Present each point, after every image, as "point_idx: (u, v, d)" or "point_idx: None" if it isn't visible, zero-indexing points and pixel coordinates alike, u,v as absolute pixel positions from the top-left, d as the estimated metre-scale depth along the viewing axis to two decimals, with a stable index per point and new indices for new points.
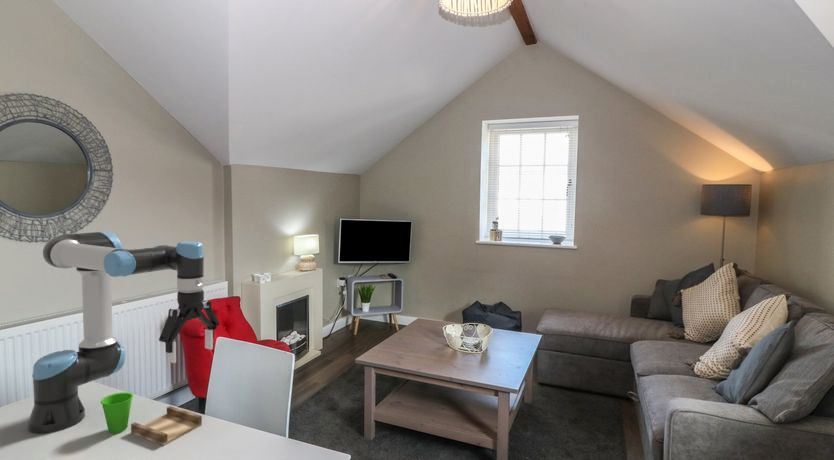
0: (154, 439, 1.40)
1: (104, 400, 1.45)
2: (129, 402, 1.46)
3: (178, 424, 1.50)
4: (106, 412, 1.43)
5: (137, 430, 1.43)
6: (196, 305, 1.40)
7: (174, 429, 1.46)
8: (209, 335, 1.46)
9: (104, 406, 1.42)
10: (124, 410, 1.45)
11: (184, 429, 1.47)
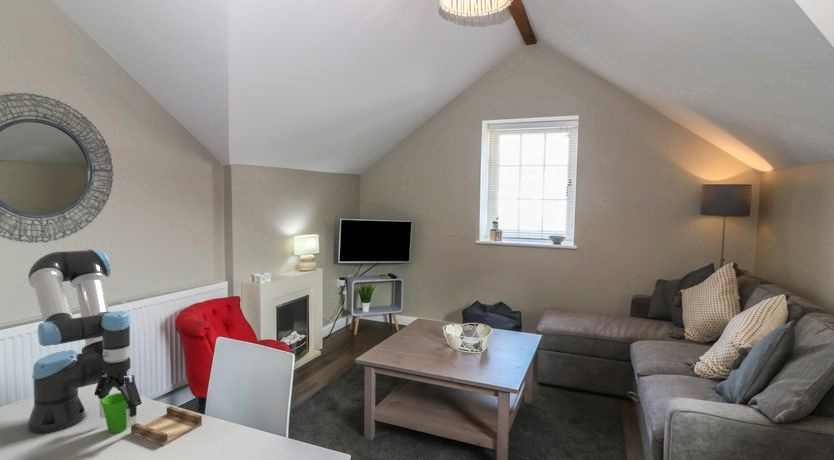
0: (154, 439, 1.40)
1: (104, 400, 1.45)
2: None
3: (178, 424, 1.50)
4: (106, 412, 1.43)
5: (137, 430, 1.43)
6: (116, 375, 1.44)
7: (174, 429, 1.46)
8: None
9: (104, 406, 1.42)
10: (124, 410, 1.45)
11: (184, 429, 1.47)
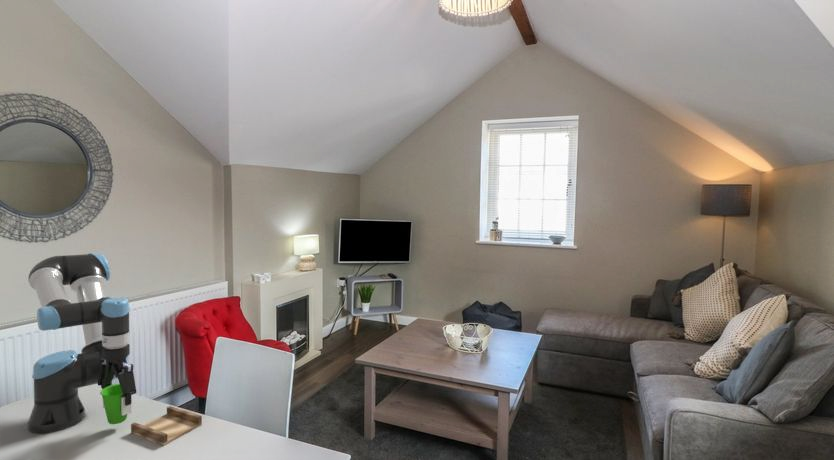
0: (154, 439, 1.40)
1: (104, 391, 1.45)
2: None
3: (178, 424, 1.50)
4: (105, 403, 1.43)
5: (137, 430, 1.43)
6: (115, 360, 1.43)
7: (174, 429, 1.46)
8: None
9: (103, 397, 1.42)
10: None
11: (184, 429, 1.47)
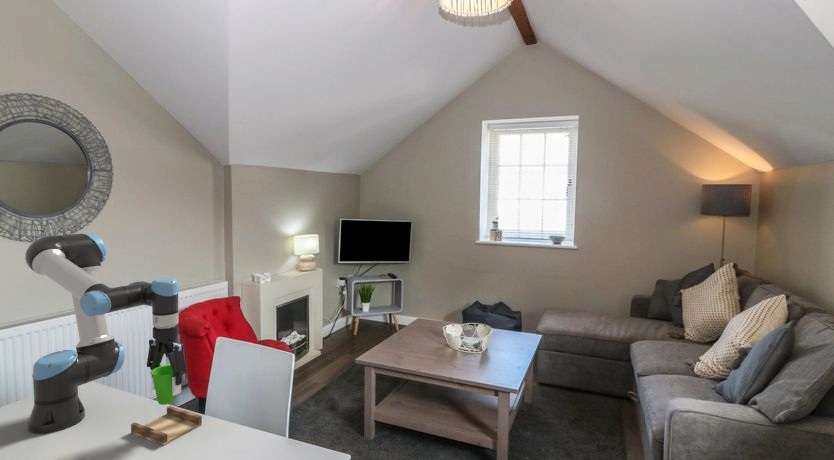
0: (154, 439, 1.40)
1: (153, 371, 1.46)
2: None
3: (178, 424, 1.50)
4: (156, 383, 1.43)
5: (137, 430, 1.43)
6: (165, 340, 1.44)
7: (174, 429, 1.46)
8: None
9: (154, 377, 1.43)
10: None
11: (184, 429, 1.47)
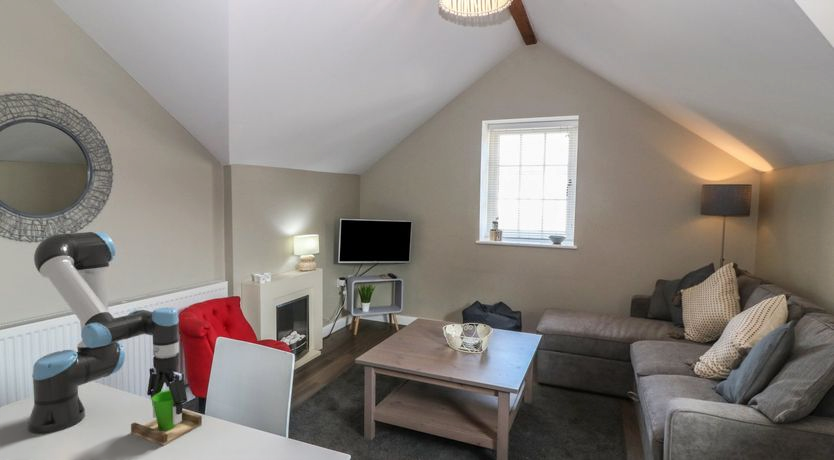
0: (154, 439, 1.40)
1: (154, 397, 1.46)
2: None
3: (178, 424, 1.50)
4: (157, 409, 1.44)
5: (137, 430, 1.43)
6: (166, 370, 1.45)
7: (174, 429, 1.46)
8: None
9: (155, 403, 1.43)
10: None
11: (184, 429, 1.47)
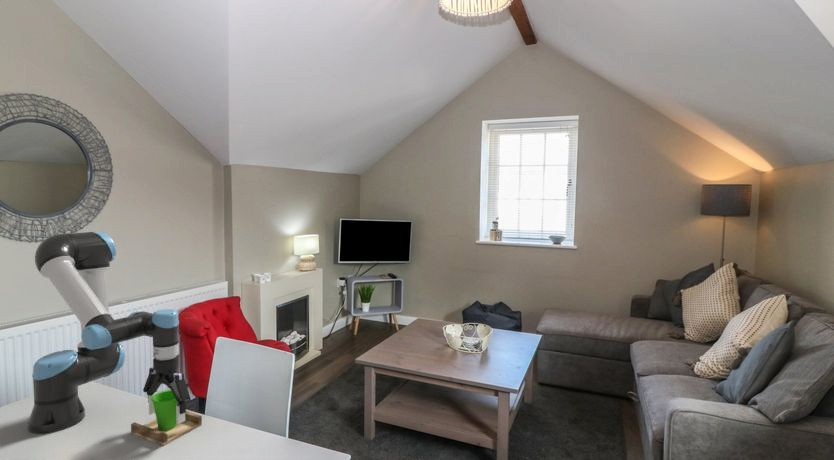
0: (154, 439, 1.40)
1: (154, 397, 1.46)
2: None
3: (178, 424, 1.50)
4: (157, 409, 1.44)
5: (137, 430, 1.43)
6: (165, 372, 1.45)
7: (174, 429, 1.46)
8: None
9: (155, 403, 1.43)
10: (174, 407, 1.46)
11: (184, 429, 1.47)
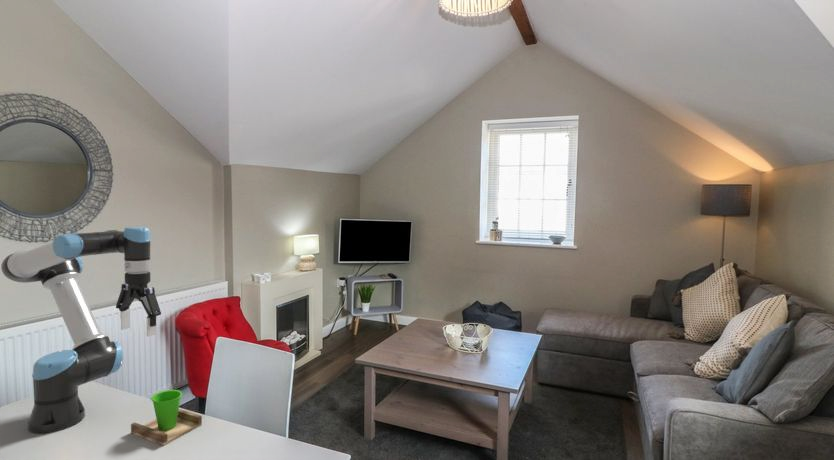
0: (154, 439, 1.40)
1: (154, 397, 1.46)
2: (178, 400, 1.47)
3: (178, 424, 1.50)
4: (157, 409, 1.44)
5: (137, 430, 1.43)
6: (136, 287, 1.49)
7: (174, 429, 1.46)
8: None
9: (155, 403, 1.43)
10: (174, 407, 1.46)
11: (184, 429, 1.47)
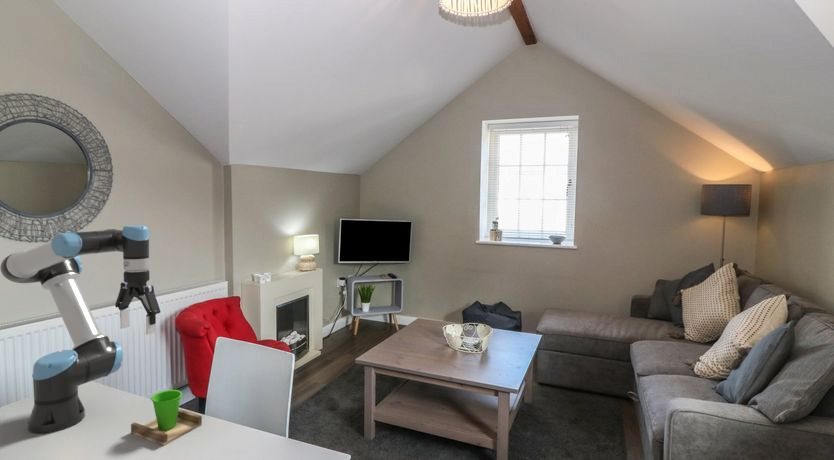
0: (154, 439, 1.40)
1: (154, 397, 1.46)
2: (178, 400, 1.47)
3: (178, 424, 1.50)
4: (157, 409, 1.44)
5: (137, 430, 1.43)
6: (136, 285, 1.49)
7: (174, 429, 1.46)
8: None
9: (155, 403, 1.43)
10: (174, 407, 1.46)
11: (184, 429, 1.47)
